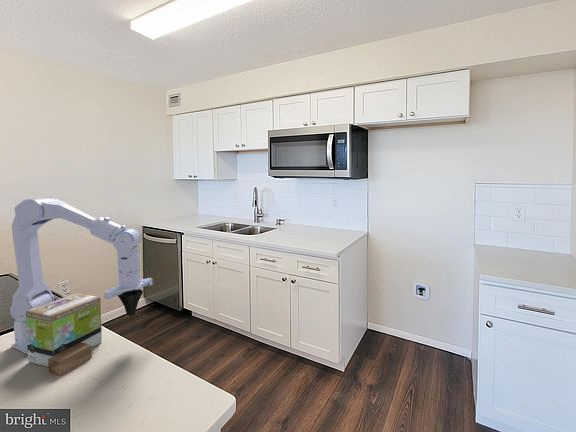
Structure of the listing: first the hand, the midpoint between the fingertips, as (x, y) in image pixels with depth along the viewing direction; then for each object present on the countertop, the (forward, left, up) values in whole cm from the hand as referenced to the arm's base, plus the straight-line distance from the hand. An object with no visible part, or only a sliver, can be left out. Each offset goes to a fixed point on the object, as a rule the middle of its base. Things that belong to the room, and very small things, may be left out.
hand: (131, 314), depth 96 cm
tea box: (-12, -12, -10) cm, 19 cm away
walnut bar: (-5, -15, -10) cm, 18 cm away
